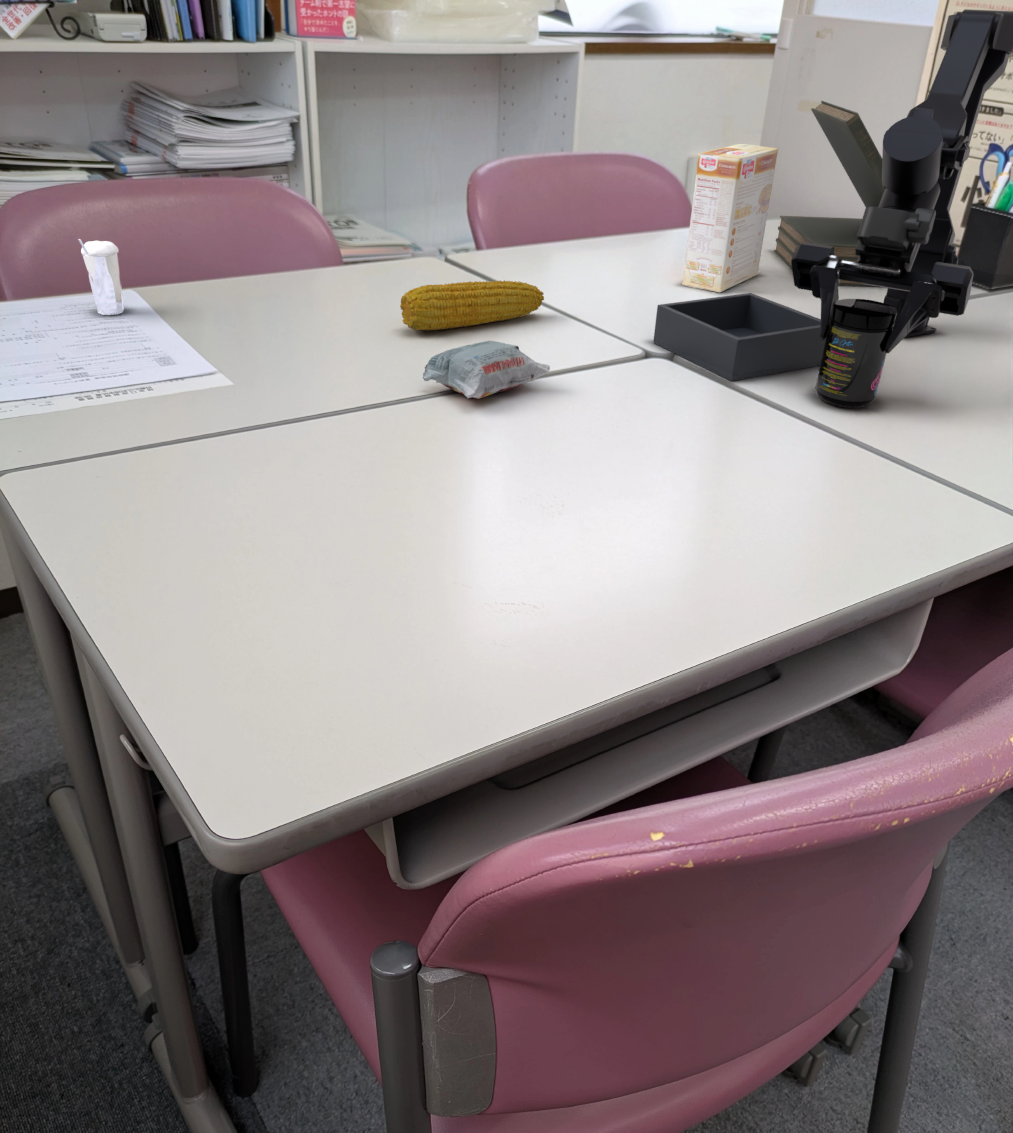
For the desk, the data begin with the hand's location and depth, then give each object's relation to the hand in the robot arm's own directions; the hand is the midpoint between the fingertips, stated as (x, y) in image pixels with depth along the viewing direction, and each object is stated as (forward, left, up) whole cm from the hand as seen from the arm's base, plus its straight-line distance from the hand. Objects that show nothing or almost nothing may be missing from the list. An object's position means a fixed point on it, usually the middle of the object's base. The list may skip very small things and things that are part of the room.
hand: (853, 344), depth 103 cm
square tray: (-1, -19, -7) cm, 20 cm away
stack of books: (-49, -47, -7) cm, 68 cm away
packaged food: (+35, -20, -7) cm, 41 cm away
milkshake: (+68, -66, -7) cm, 95 cm away
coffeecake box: (-23, -49, -7) cm, 54 cm away
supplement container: (-1, -1, -7) cm, 7 cm away
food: (+25, -43, -7) cm, 50 cm away
